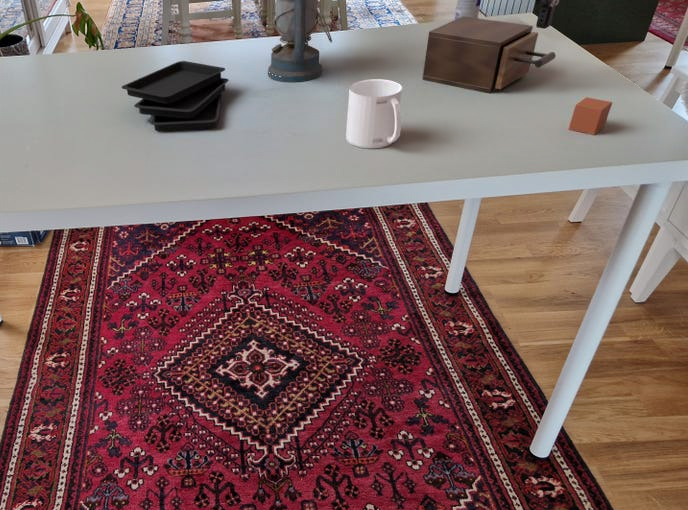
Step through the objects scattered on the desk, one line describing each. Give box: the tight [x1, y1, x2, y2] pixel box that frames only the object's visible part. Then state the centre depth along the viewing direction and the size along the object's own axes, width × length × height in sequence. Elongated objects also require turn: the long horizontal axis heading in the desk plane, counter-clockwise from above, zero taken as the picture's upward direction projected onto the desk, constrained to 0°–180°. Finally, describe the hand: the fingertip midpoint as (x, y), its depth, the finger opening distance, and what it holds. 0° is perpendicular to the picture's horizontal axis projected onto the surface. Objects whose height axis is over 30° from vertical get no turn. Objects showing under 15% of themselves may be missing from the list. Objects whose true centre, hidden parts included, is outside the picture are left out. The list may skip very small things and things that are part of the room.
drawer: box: [494, 31, 557, 90], centre depth 134 cm, size 20×13×8 cm, turn 44°
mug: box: [345, 78, 403, 150], centre depth 115 cm, size 12×9×9 cm
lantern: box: [267, 0, 333, 83], centre depth 141 cm, size 19×14×30 cm
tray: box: [121, 60, 230, 132], centre depth 137 cm, size 30×23×5 cm
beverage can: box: [453, 0, 482, 21], centre depth 160 cm, size 6×6×15 cm
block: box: [568, 97, 613, 136], centre depth 115 cm, size 4×4×4 cm
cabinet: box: [422, 16, 534, 94], centre depth 137 cm, size 16×14×10 cm
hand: (542, 27), depth 125 cm, fingers closed
